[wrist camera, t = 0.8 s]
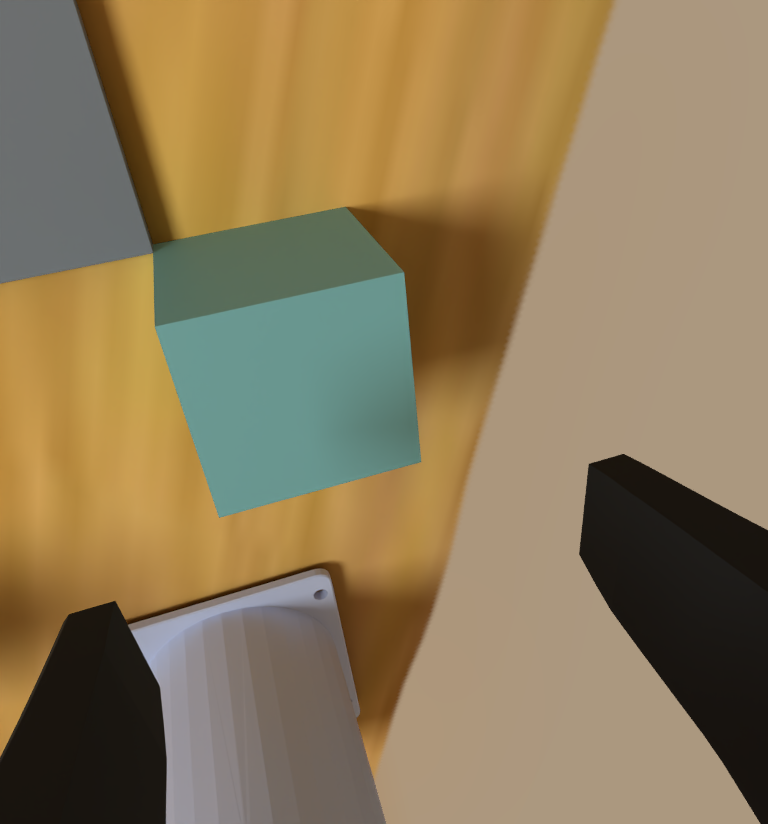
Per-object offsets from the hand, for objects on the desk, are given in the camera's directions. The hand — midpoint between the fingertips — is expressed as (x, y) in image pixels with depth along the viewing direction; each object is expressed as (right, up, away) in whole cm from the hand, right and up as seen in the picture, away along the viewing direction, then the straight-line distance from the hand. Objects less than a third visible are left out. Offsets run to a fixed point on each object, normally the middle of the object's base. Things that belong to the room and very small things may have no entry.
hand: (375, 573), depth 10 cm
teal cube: (-3, +5, +8) cm, 10 cm away
